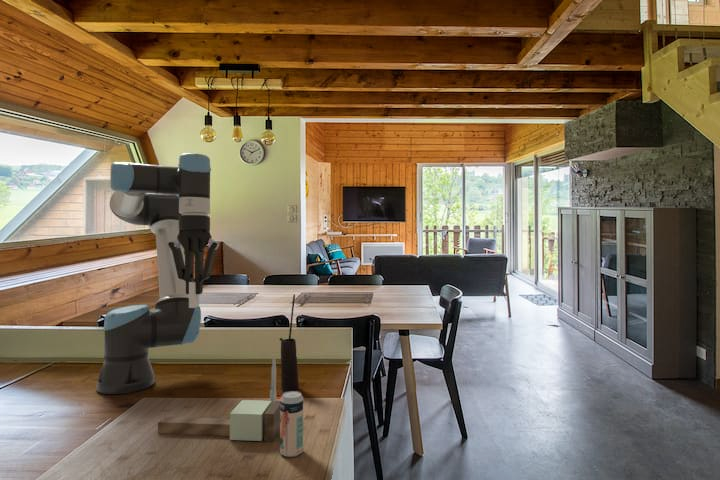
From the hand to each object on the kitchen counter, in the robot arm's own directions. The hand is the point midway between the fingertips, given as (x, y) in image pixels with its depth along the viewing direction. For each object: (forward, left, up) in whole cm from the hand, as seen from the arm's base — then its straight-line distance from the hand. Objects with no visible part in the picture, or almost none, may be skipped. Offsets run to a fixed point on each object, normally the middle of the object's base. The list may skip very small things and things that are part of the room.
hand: (194, 306), depth 110 cm
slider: (+19, -12, -26) cm, 35 cm away
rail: (+11, -12, -26) cm, 31 cm away
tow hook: (+21, +4, -27) cm, 34 cm away
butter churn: (+20, +17, -27) cm, 37 cm away
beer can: (+30, -20, -27) cm, 45 cm away
